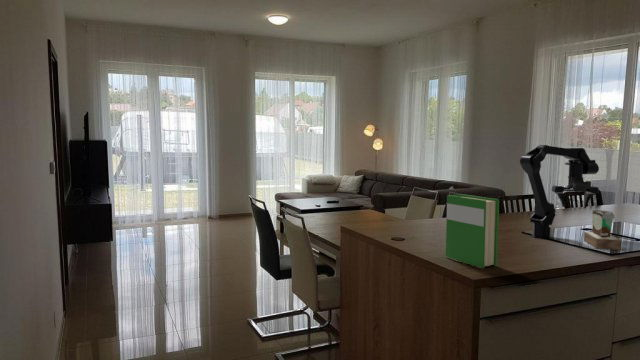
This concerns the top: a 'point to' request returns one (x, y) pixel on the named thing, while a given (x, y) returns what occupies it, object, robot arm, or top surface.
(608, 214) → the food container
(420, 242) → the top surface
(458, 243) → the hardback book
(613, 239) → the base board
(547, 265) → the top surface
